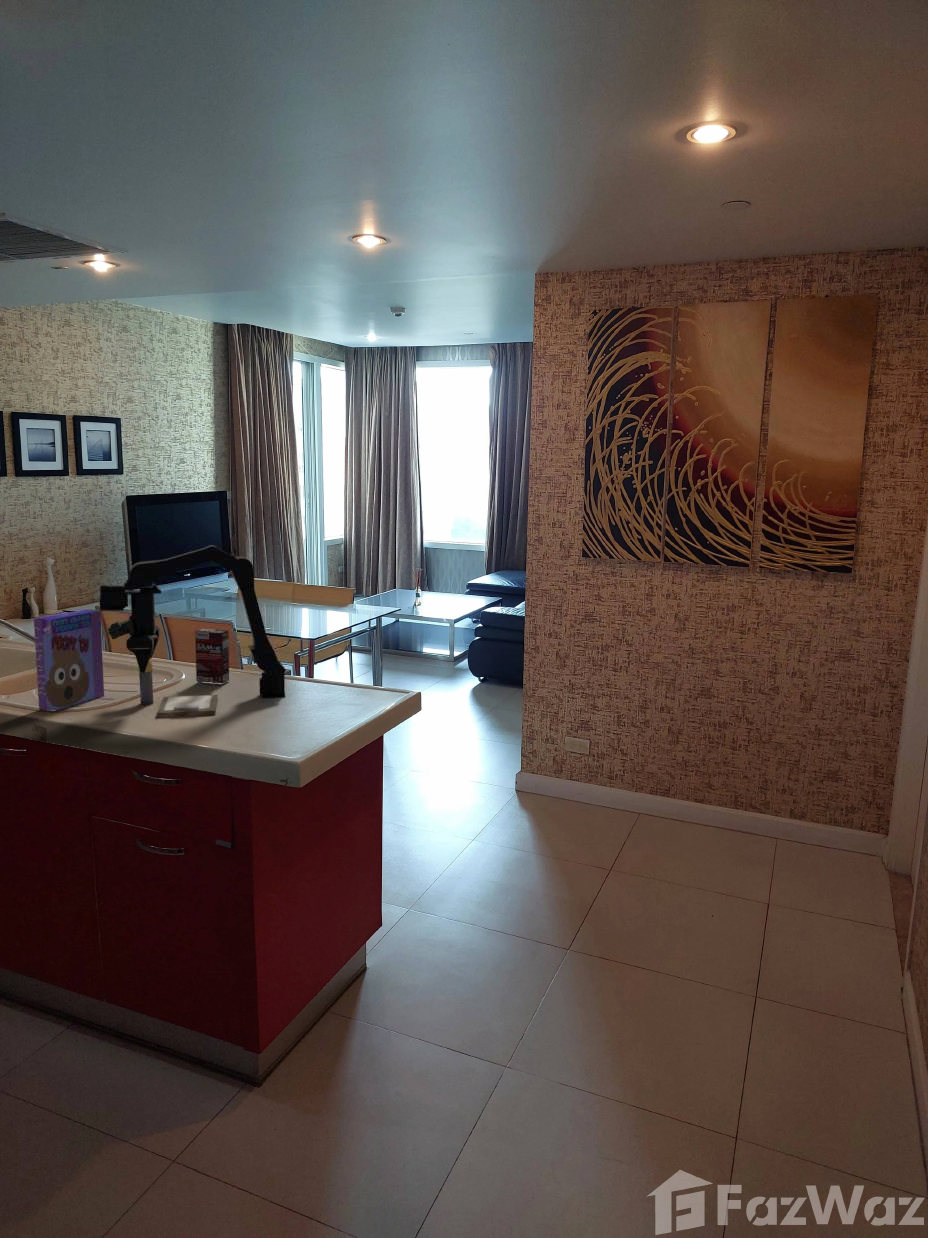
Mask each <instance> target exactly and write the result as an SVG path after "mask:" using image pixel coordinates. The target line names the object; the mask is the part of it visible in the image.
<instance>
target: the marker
mask: <svg viewBox="0 0 928 1238" xmlns="http://www.w3.org/2000/svg"><path fill="white" fill-rule="evenodd" d="M138 675H139V676H138V677H139V698H140V705H141V706H150V705H153V704H154V687H153V686H154V685H153V683H154V682H153V659H152V658H151V659H149V662H148V665H147V668H146V671H145V672H144V673H141V672H140V669H139V668H138Z"/></svg>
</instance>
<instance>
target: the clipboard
mask: <svg viewBox="0 0 928 1238" xmlns="http://www.w3.org/2000/svg"><path fill="white" fill-rule="evenodd" d="M217 698H218V694H200V695H174V696H163V697H162V700H161V702H160V705H159V706H158V707H159V708H158V710H157V712H156V717H158V718H176V717H177V716H181V717H197V716H198V717H199V716H200V717H201V716H202V715H204V716H216V712H217V705H218V704H217V703H218V699H217ZM177 718H178V717H177Z"/></svg>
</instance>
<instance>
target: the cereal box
mask: <svg viewBox="0 0 928 1238" xmlns="http://www.w3.org/2000/svg"><path fill="white" fill-rule="evenodd" d="M101 618H102V617H101V611H100V610H97V609H92V608H91V609H90V608H89V609H82V610H77V611H71V612H65V613H59V614H54V615H49V616H48V615H47V616H43V617H37V618H33V629H34V645H35V662H36V675H37V676H36V679H37V680H36V682H37V695H38V710H39V709H40V710H39V711H43V710H59V711H61V710H65V709H68V708H71V707H74V706H78V705H80V704H83V703H86V702H90V701H93V700H96V699H100V698H103V697H105V687H104V685H105V683H104V664H103V662H104V659H103V660H102V642H103V638H101V636H102V620H101Z"/></svg>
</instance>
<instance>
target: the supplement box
mask: <svg viewBox="0 0 928 1238" xmlns="http://www.w3.org/2000/svg"><path fill="white" fill-rule="evenodd" d="M194 633H195V672H196V673H195V675H196V676H195V677H196V678H195V680H196V681H197V682H212V683H222V684H223V683H225V682H227V681H229V682H230V639H229V637H230V636H229V634H230V633H229V630H228V629H225V630H224V629H216V628H215V629H211V628H199V629H197V630H195V632H194ZM196 681H195V682H196Z"/></svg>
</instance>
